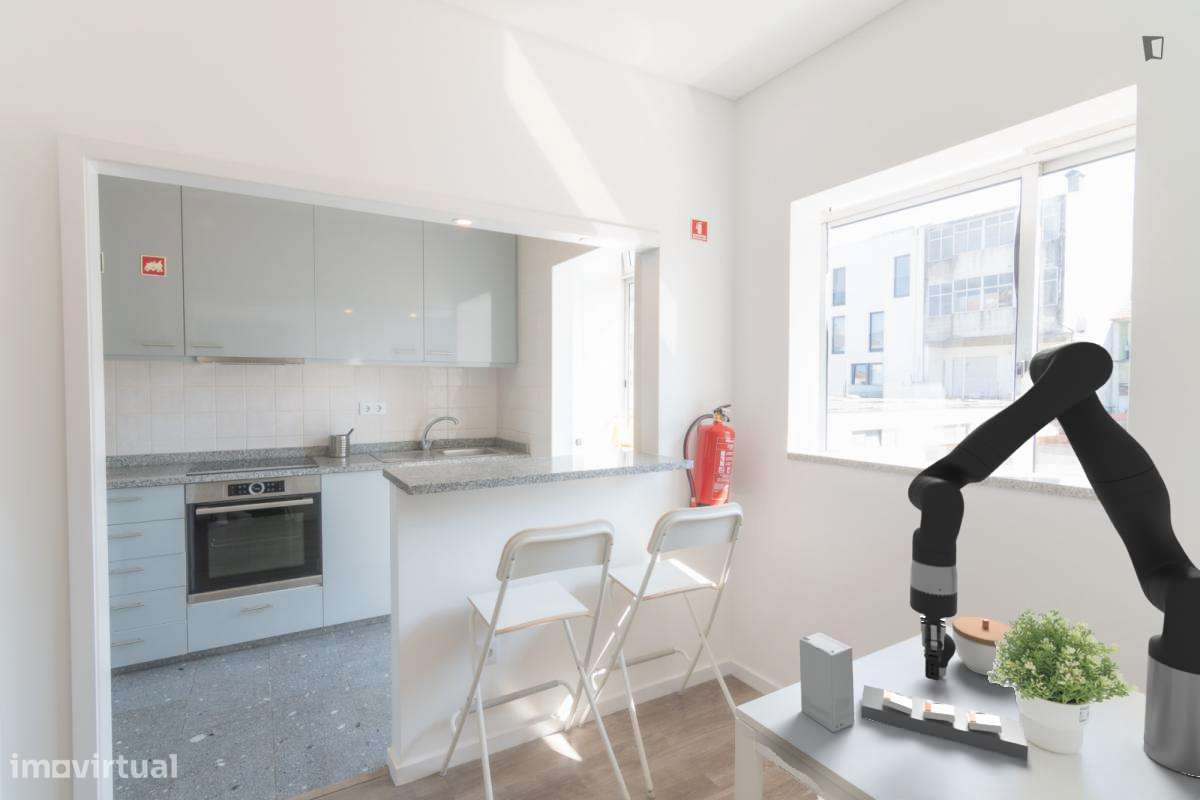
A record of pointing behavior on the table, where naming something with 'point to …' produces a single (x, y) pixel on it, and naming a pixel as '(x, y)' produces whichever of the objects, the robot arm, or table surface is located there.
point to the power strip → (946, 724)
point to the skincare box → (827, 681)
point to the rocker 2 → (984, 722)
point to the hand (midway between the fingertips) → (932, 677)
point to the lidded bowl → (977, 641)
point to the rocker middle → (939, 711)
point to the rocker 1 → (897, 702)
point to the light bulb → (946, 654)
